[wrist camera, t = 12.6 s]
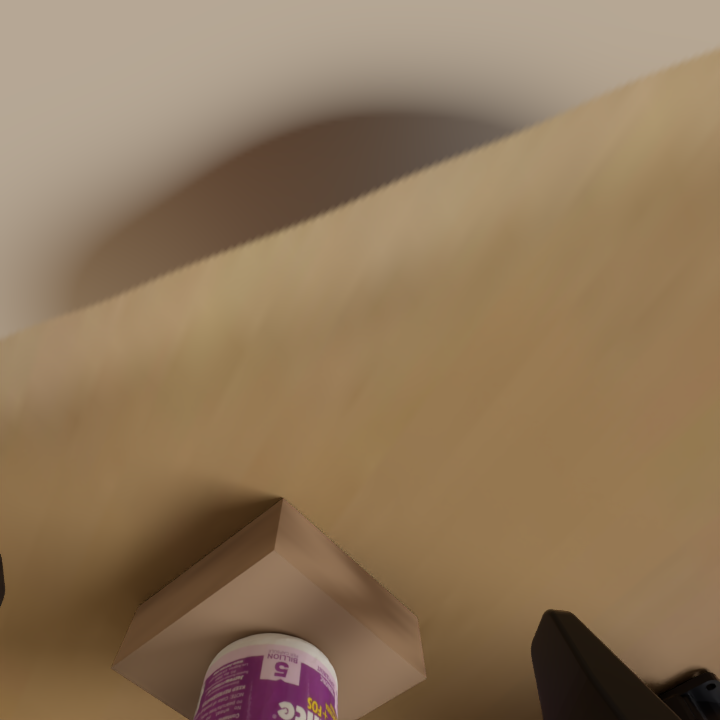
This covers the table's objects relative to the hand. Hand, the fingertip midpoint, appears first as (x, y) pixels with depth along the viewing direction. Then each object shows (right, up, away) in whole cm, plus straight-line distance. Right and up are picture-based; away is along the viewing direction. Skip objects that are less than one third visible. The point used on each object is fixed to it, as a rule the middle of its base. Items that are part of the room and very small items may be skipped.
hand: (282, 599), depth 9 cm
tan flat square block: (-2, -8, +15) cm, 17 cm away
